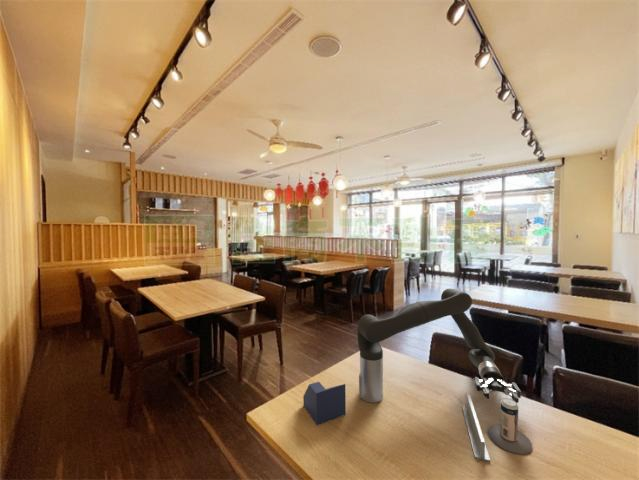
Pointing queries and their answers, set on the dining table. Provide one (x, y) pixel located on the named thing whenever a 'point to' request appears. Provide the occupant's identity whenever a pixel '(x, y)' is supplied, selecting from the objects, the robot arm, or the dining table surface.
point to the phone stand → (325, 402)
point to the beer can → (509, 419)
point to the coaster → (516, 447)
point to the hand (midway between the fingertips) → (502, 398)
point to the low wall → (475, 432)
